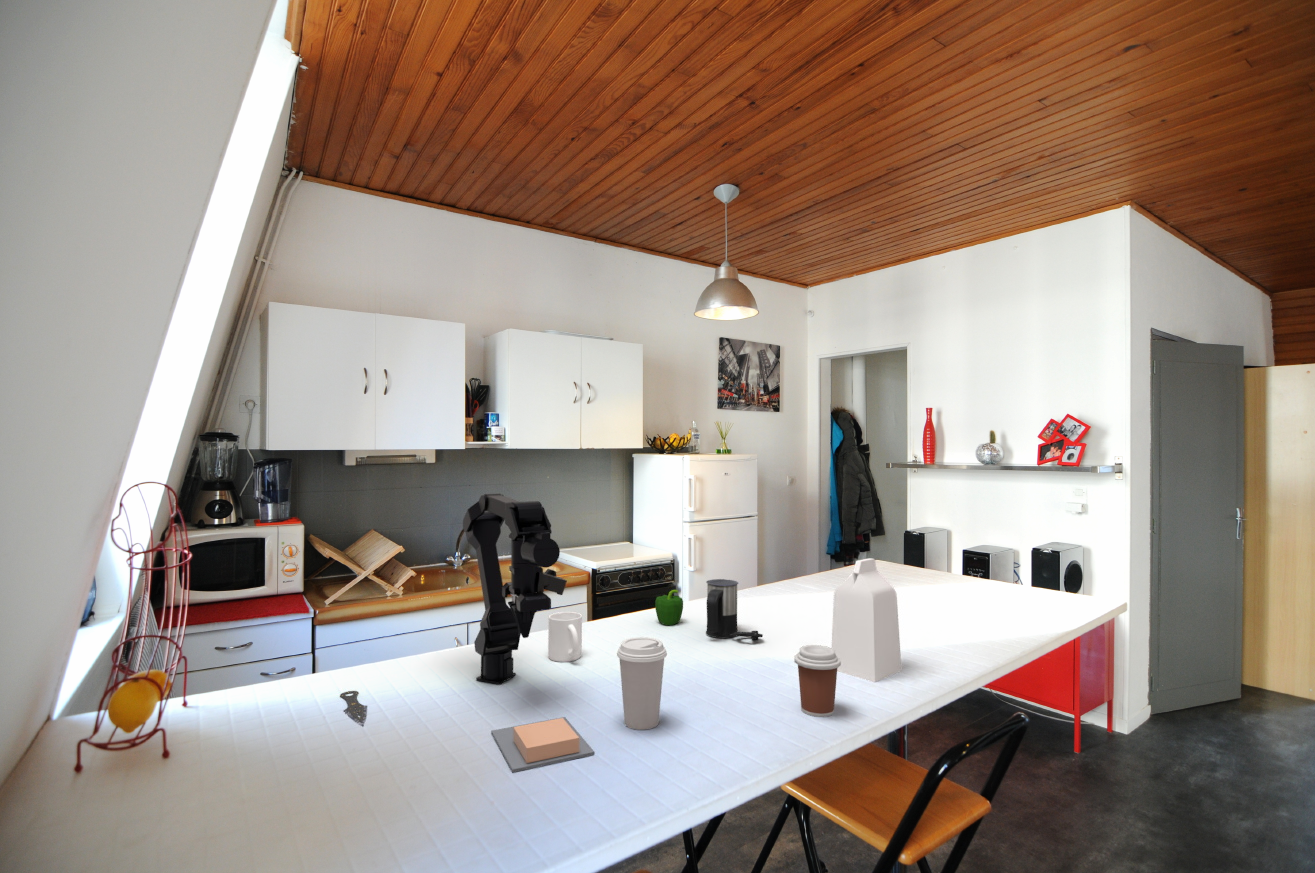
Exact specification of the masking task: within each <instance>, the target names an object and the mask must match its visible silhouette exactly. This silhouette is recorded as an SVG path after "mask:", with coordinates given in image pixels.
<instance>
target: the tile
mask: <svg viewBox="0 0 1315 873" xmlns="http://www.w3.org/2000/svg"><path fill="white" fill-rule="evenodd" d="M559 718H560V719H556V718H553V719H554V720H551V719H548V720H549V721H545V720H542V721H543V722H540V721H537V722H538V723H535V722H532V723H533V724H529V723H526V724H527V725H524V724H521V725H522V726H519V725H516V726H517V727H513V726H512V727H513V741H514V743H515V745H516V746H517V748H518V750H519V751H520V753H521V755H522V756H523V758H524V760H525V761H526V763H530V762H535V761H540V760H544V759H549V758H554V757H558V756H563V755H568V754H572V753H577V752H579V737H578V736H577V734H576V733H575V732H574V731H573V730H572V728H571V727H570V726H569V725H568V724H567V722H566V721H565V720H564V719H563V718H562V717H559Z"/></svg>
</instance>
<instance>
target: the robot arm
mask: <svg viewBox="0 0 1315 873" xmlns="http://www.w3.org/2000/svg"><path fill="white" fill-rule="evenodd" d="M503 524H505V525H506V526H507V527H508V529H509V530H510V533H509V534H508V538H509V539H510V542H511V543H510V547H511V548H510V554H511V555H510V557H511V558H510V562H511V563H510V565H509V566H508V571H509V572H510V575H511V576H510V579H511V581H509V582H505V583H503V578H502V571H501V566H500V560H499V555H498V553H499V552H498V548H497V543H498V540H499V538H500V536H501V533H502V526H503ZM462 529H463V531H464V532H465V537H466V541H467V542H468V543H469V544H470V545H471V546H472V548H473V549H474V550H475V552H476V558H477V566H478V571H479V572H478V573H479V578H480V579H479V580H480V584H481V589H482V591H481V592H482V597H483V603H484V605H483V606H484V613H483V615H482V618H481V620H480V622H479V628H480V629H479V631H478V634H477V636H476V638H475V639H474V642H473V643H474V651H475V653H476V654H479V656H480V675H479V676H477V677H476V681H479V682H484V683H490V684H497V685H500V684H502V683H505V682H506V681H508V680H510V679H512V678H513V677H515V676H516V674H517V673H516V672H514V657H513V651H518V650H519V644H520V640H521V636H522V638H523V639H528V638H529V636H530V634H531V629H532V625H533V622H534V618H535V614H536V612H538V611H548V610H551V609H552V599H551V597H550V596H549V595H547V594H546V593H545V591H550V592H552V593H555V594H556V595H559V596H563V594H564V591H565V589H566V584H567V582H568V580H566V578H565V579H564V578H562V577H560V576H557V571H555V570H554V569H550V568H549V567H553V565H555V564H556V563H557V562H558V560H559V558H560V555H561V554H560V553H561V550H560V547H559V545H558V543H557V541H555V539H552V538H551V534H552V524H551V522H550V520H549V518H548V516H547V513H546V510H545V507H544V506H543V504H542V503H541V502H540V500H530V501H529V500H528V501H519V500H516V499H513V498H510V497H507V496H506V495H504V494H501V493H484V494H482V495H480V497H479V499H478V501H477V502H476V503H474V504H472V505H471V506H470V507H469V508H468V509H467V510H466V513H465V515H464V517H463V519H462ZM544 568H545V569H546V568H547V569H546V570H545V571H544ZM544 590H545V591H544ZM508 596H511V601H508V602H507V600H506V598H508Z"/></svg>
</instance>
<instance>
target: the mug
mask: <svg viewBox="0 0 1315 873" xmlns="http://www.w3.org/2000/svg"><path fill="white" fill-rule="evenodd" d="M582 630H583V615H582V614H581V613H579V612H576V611H574V612H572V611H559V612H554V613H552V614H549V615H548V632H547V633H548V638H547V639H548V643H547V644H548V646H547V648H548V649H547V650H548V658H549V659H550V660H551V661H553V662H558V663H569V662H570V663H571V662H574V661H577V660H579V659H580V658H581V657H582V650H583V649H582V648H583V645H582V641H583V638H582V637H583V631H582Z"/></svg>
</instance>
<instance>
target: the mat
mask: <svg viewBox="0 0 1315 873" xmlns="http://www.w3.org/2000/svg"><path fill="white" fill-rule="evenodd" d="M560 718H563V719H564V720H565V721H566V722H567V724H568V725H569V726H570V727H571V728H572V730H573V731H574V732H575V733H576V734H577V736H578V737H579V752H577V753H572V754H568V755H563V756H558V757H554V758H549V759H544V760H540V761H535V762H530V763H526V761H525V760H524V758H523V756H522V755H521V753H520V751H519V750H518V748H517V746H516V745H515V743H514V741H513V727H517V726H522V725H527V724H533V723H538V722H543V721H549V720H554V719H560ZM490 732H491V736H492V738H493V739H494V742H495V743H496V745H497V747H498V749H499V750H500V752H501V754H502V756H503V758H504V759H505V761H506V764H507V765H508V768H509V770H510V771H511V772H512V773H518V772H521V771H527V770H531V769H536V768H540V767H545V766H549V765H554V764H559V763H562V762H567V761H572V760H577V759H582V758H585V757H590V756H594V755H595V754H596V753H595V752H596V751H595V750H594V749H593V748H592V747H591V746H590V745H589V743H588V742H587V741H586V740H585V739H584V737H583V736H582V735H581V734H580V733H579V732H578V731H577V729H576V728H575V727H574V726H573V724H572V723H571V722H570V721H569V719H567V717H566V716H561V717H556V718H552V719H547V720H541V721H540V720H539V721H536V722H530V723H525V724H521V725H520V724H519V725H514V726H508V727H502V728H498V729H492V730H491V731H490Z"/></svg>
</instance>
